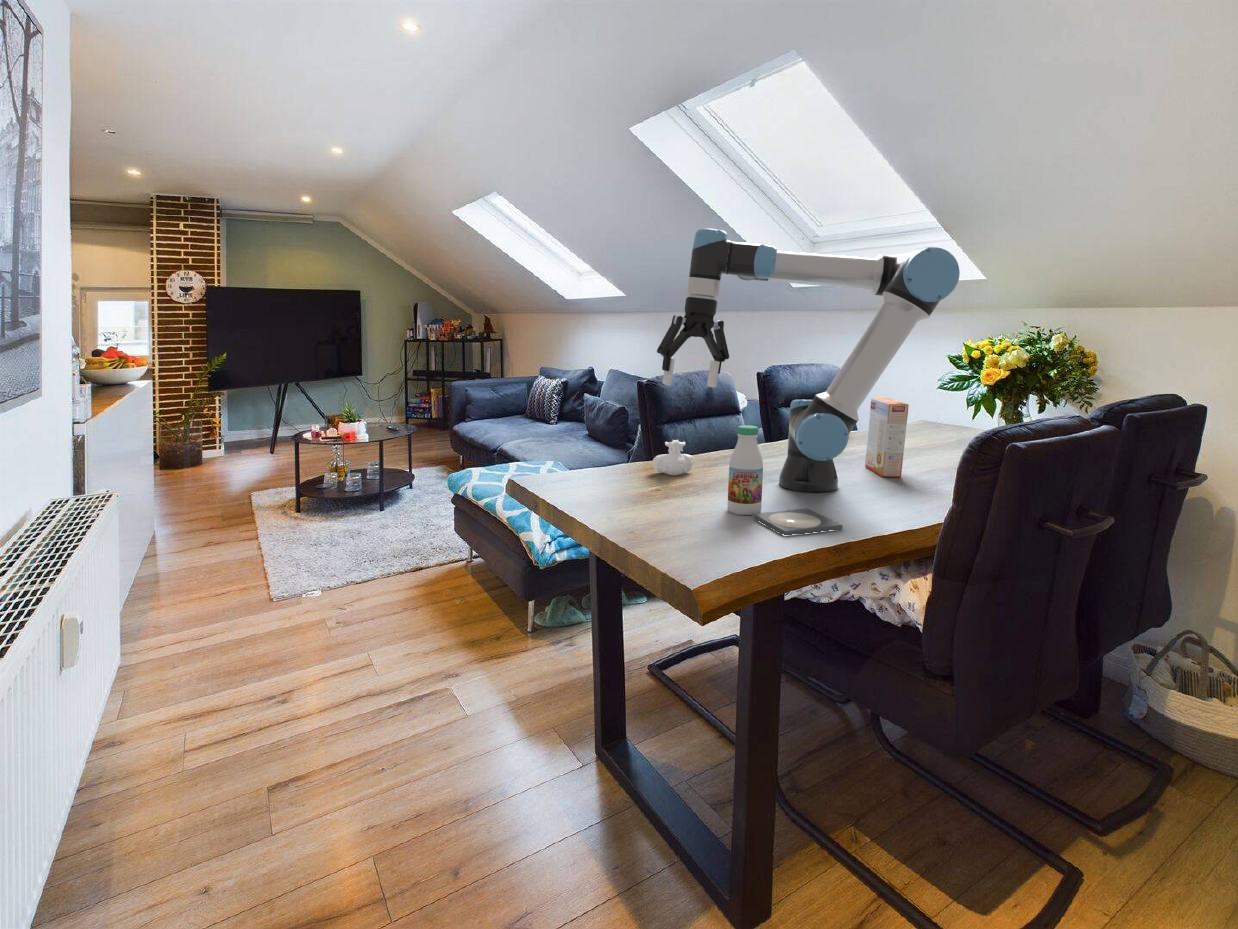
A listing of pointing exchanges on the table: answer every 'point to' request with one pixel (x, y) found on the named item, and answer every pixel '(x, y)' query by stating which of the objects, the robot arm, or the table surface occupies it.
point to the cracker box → (886, 436)
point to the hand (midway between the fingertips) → (689, 385)
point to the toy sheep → (673, 460)
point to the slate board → (797, 521)
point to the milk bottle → (745, 473)
